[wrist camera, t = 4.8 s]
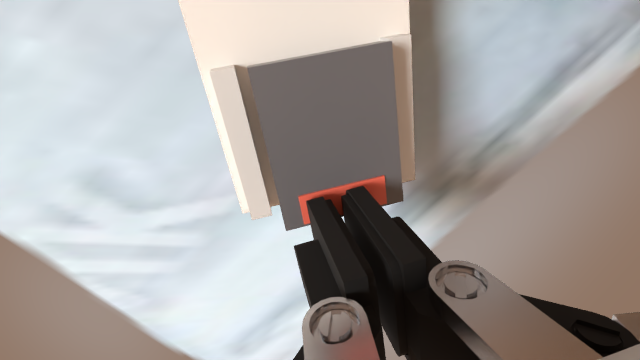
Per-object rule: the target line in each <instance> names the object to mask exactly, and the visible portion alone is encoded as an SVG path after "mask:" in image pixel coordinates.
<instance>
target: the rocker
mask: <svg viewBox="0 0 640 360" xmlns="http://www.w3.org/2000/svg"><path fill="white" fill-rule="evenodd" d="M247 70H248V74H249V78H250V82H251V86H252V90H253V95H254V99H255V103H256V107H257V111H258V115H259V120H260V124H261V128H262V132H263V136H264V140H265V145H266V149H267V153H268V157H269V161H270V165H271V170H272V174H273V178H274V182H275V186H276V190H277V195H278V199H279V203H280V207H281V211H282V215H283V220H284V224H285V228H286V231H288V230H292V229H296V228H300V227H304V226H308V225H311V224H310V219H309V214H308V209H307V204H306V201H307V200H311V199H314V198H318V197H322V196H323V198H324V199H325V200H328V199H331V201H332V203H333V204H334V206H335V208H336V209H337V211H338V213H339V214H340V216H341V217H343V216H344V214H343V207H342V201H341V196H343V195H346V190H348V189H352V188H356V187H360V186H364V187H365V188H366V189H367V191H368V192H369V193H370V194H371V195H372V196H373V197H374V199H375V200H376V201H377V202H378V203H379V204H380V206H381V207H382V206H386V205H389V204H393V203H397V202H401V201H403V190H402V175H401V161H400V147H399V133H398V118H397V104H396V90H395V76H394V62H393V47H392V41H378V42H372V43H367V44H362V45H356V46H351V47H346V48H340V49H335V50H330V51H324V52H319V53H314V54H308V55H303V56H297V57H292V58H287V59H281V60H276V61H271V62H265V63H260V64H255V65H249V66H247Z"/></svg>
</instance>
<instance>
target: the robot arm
mask: <svg viewBox="0 0 640 360" xmlns="http://www.w3.org/2000/svg"><path fill="white" fill-rule="evenodd" d="M341 201H342V207H343V214H344V220H345V223H344V221H343V219H342V218H341V216H340V214H339V213H338V211H337V209H336V208H335V206H334V204H333V203H332V201H331V199H328V200H325V199H324V198H323V196H322V197H318V198H314V199H311V200H307V201H306V204H307V209H308V214H309V219H310V224H311V228H312V233H313V238H314V240H313V241H310V242H306V243H302V244H299V245H295V246H294V249H295V253H296V257H297V261H298V265H299V269H300V273H301V277H302V281H303V285H304V288H305V292H306V296H307V299H308V303H309V306H310V309H309V310H308V312H307V313H306V315H305V317H304V319H303V326H302V333H303V346H302V347H301V349H300V350H299V352H298V353H297V355H296V356H295V358H294V359H293V360H386V357H385V348H384V341H383V332H382V326H383V329H384V330H385V332H386V334H387V336H388V338H389V340H390V342H391V344H392V346H393V348H394V350H395V352H396V354H397V355H398V356H402V355H405V357H406V359H407V360H640V312H635V313H625V314H614V315H613V317H612V319H609V318H608V317H605V316H602V315H600V314H597V313H593V312H589V311H586V310H581V309H577V308H573V307H569V306H565V305H560V304H556V303H553V302H548V301H544V300H540V299H536V298H532V297H528V296H524V295H520V294H517V293H516V292H515V291H513V290H512V289H511V288H509V287H508V286H507V285H505V284H504V283H503V282H501V281H500V280H499V279H497V278H496V277H495V276H493V275H492V274H491V273H489V272H488V271H486V270H485V269H483V268H482V267H480V266H478V265H476V264H473V263H470V262H466V261H459V260H455V261H446V262H443V263H442V262H441V261H440V260H439V259H438V258H437V257H436V255H434V253H433V252H432V251H431V250H430V249H429V248H428V247H427V246H426V245H425V243H424V242H423V241H422V240H421V239H420V238H419V237H418V236H417V235H416V234H415V233H414V232H413V230H412V229H411V228H410V227H409V226H408V225H407V224H406V223H405V222H404V221H403V220H402V219H401V218H400V217H394V218H391V217H390V216H389V215H388V214H387V212H386V211H385V210H384V209H383V208H382V207H381V206H380V204H379V203H378V202H377V201H376V200H375V199H374V197H373V196H372V195H371V194H370V193H369V192H368V191H367V189H366V188H365V187H364V186H360V187H356V188H352V189H348V190H346V195H343V196H341Z"/></svg>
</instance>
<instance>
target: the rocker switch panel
mask: <svg viewBox="0 0 640 360" xmlns="http://www.w3.org/2000/svg"><path fill="white" fill-rule="evenodd" d="M178 1H179V5H180V8H181V11H182V15H183V18H184V21H185V25H186V28H187V31H188V34H189V38H190V41H191V44H192V48H193V51H194V54H195V58H196V61H197V64H198V68H199V71H200V74H201V77H202V81H203V84H204V87H205V91H206V94H207V97H208V101H209V104H210V107H211V111H212V114H213V117H214V120H215V124H216V127H217V130H218V134H219V137H220V140H221V144H222V147H223V150H224V154H225V157H226V160H227V164H228V167H229V170H230V173H231V177H232V180H233V183H234V187H235V190H236V193H237V197H238V200H239V203H240V207H241V210H242V213H247V212H250V214H251V218H252V220H255V219H259V218H263V217H267V216H271V215H272V212H271V207H272V206H276V205H280V203H279V199H278V195H277V190H276V186H275V182H274V178H273V174H272V170H271V165H270V161H269V157H268V153H267V149H266V145H265V140H264V136H263V132H262V128H261V124H260V120H259V115H258V111H257V107H256V103H255V99H254V95H253V90H252V86H251V82H250V78H249V74H248V70H247V66H249V65H255V64H260V63H265V62H271V61H276V60H281V59H287V58H292V57H297V56H303V55H308V54H314V53H319V52H324V51H330V50H335V49H340V48H346V47H351V46H356V45H362V44H367V43H372V42H378V41H392V47H393V62H394V76H395V90H396V104H397V118H398V133H399V147H400V161H401V175H402V183H403V182H407V181H411V180H415V155H414V119H413V83H412V47H411V34H410V22H409V0H178Z"/></svg>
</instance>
